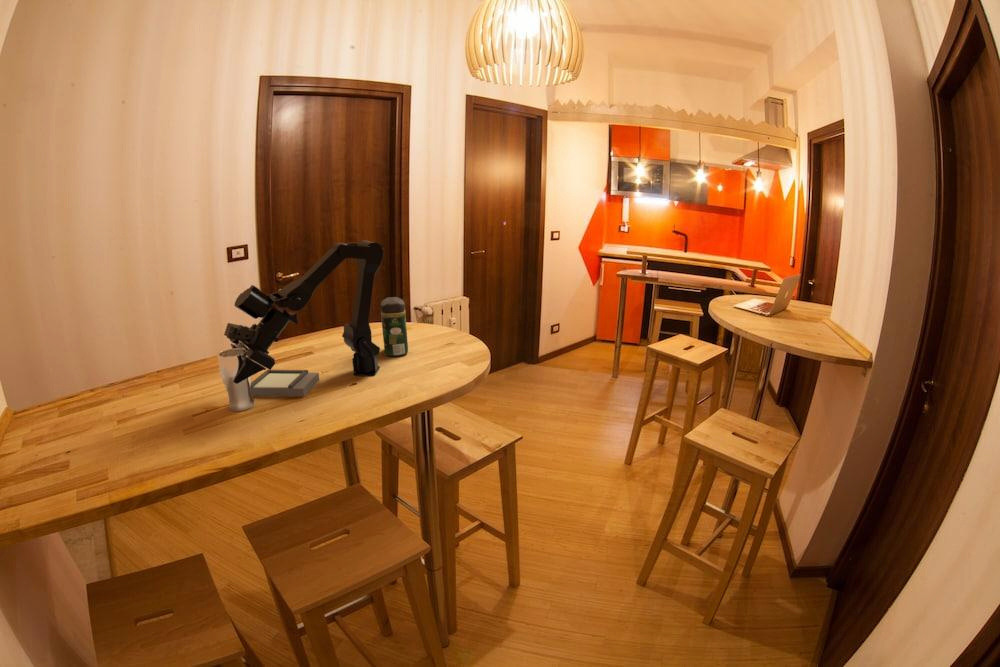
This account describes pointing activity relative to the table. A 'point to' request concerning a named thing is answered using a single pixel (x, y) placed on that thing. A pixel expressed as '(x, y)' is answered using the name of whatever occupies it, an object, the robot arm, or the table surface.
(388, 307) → the coffee jar
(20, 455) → the table surface
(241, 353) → the beer glass
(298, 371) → the dock
